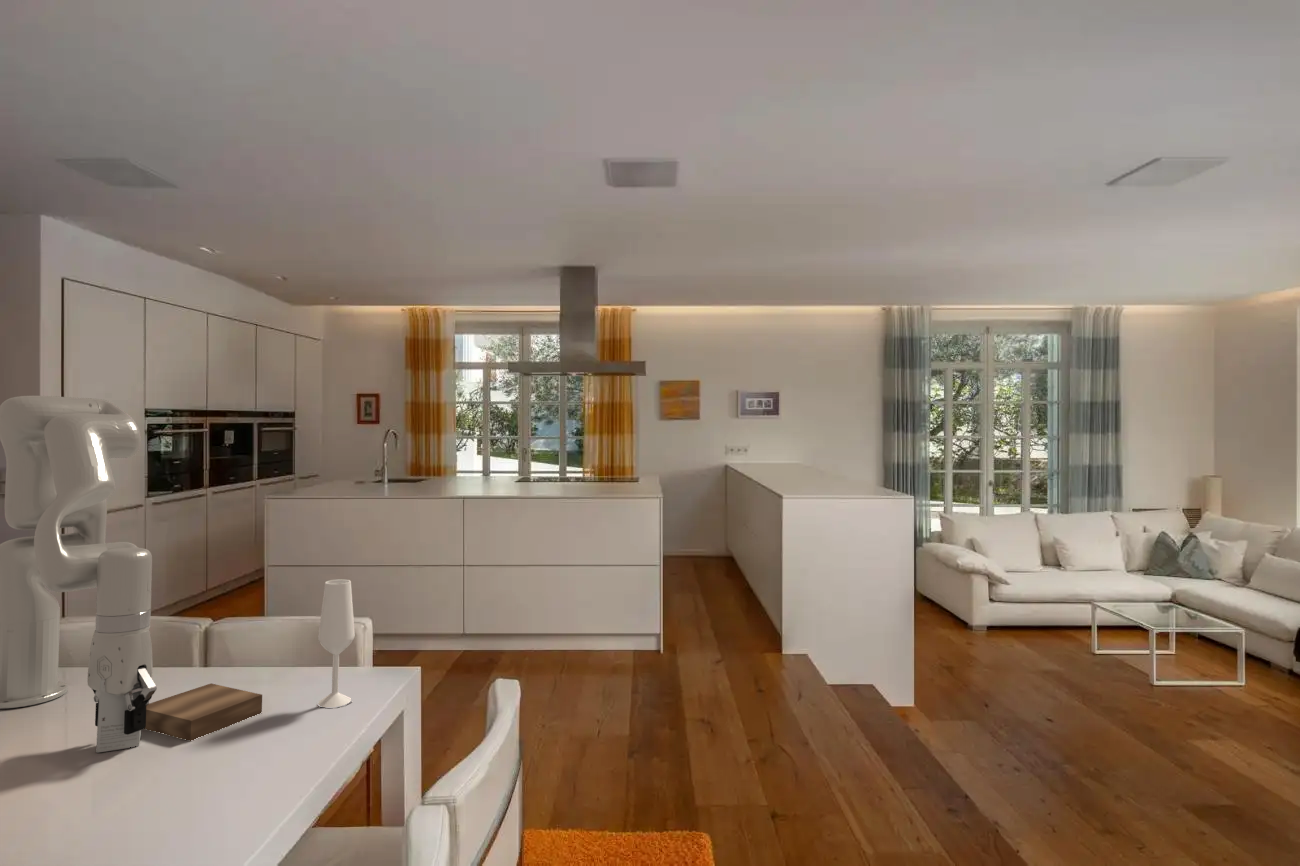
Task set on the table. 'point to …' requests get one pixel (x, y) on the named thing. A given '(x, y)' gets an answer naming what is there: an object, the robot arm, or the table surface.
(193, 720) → the walnut base
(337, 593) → the champagne flute
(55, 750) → the table surface
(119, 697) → the skincare box
